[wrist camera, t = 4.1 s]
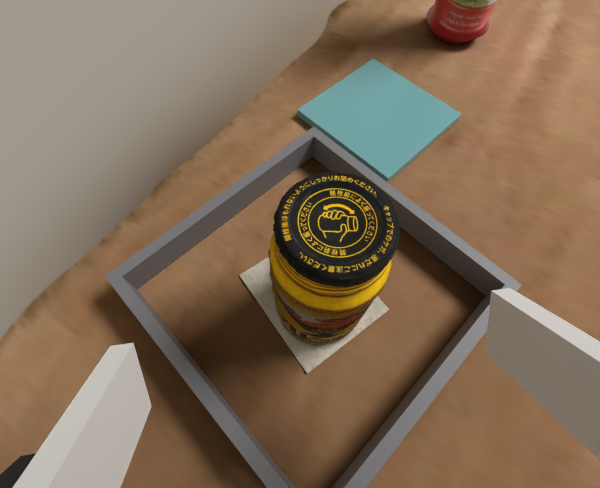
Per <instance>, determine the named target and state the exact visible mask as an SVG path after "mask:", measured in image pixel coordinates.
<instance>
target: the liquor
mask: <svg viewBox="0 0 600 488" xmlns="http://www.w3.org/2000/svg"><path fill="white" fill-rule="evenodd" d="M497 1H498V0H436V1H435V4H434V5H433V6H432V7H431V8H430V9H429V11H428V12H427V21H428V23H429V25H430V27H431V29H432V31H433V33H434V34H435V36H436V37H437V38H439V39H440V40H442V41H444V42H447V43H452V44H461V43H465V42H467V41H470V40H472V39H475V38H477V37H480V36H482V35H483V34H485V33H486V32H487V30H488V27H489V16H490V14H491V13H492V11H493V9H494V7H495V5H496V3H497Z"/></svg>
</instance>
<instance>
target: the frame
mask: <svg viewBox="0 0 600 488" xmlns="http://www.w3.org/2000/svg"><path fill="white" fill-rule="evenodd" d="M311 157H313V158H315V159H316V160H317V161H318V162H320V163H321V164H322V165H323V166H324V167H326V168H327V169H328V170H329V171H331V172H332V173H333V172H338V173H349V174H355V175H358V176H361V177H364V178H366V179H367V180H369V181H371V182H372V183H374V184H375V185H376V186H377V187H379V188H380V190H382V191H383V192H384V193H385V194H386V195H387V196H388V197H389V199H390V200H391V202H392V204H393V207H394V210H395V212H396V214H397V217H398V220H399V224H400V226H399V227H400V228H402V229H403V230H404V231H405V232H407V233H408V234H409V235H410V236H412V237H413V238H414V239H415V240H417V241H418V242H419V243H420V244H422V245H423V246H424V247H425V248H427V249H428V250H429V251H430V252H432V253H433V254H434V255H435V256H437V257H438V258H439V259H440V260H442V261H443V262H444V263H445V264H447V265H448V266H449V267H450V268H451V269H453V270H454V271H455V272H456V273H458V274H459V275H460V276H461V277H463V278H464V279H465V280H466V281H468V282H469V283H470V284H471V285H473V286H474V287H475V288H476V289H478V290H479V291H480V292H481V293H483V294H484V295H485V296H486V297H485V298H484V299H483V300H482V302H481V303H480V304H479V305H478V307H477V308H476V309H475V310H474V312H473V313H472V314H471V315H470V316H469V318H468V319H467V320H466V321H465V323H464V324H463V325H462V326H461V328H460V329H459V330H458V331H457V333H456V334H455V335H454V336H453V338H452V339H451V340H450V341H449V343H448V344H447V345H446V346H445V347H444V349H443V350H442V351H441V352H440V354H439V355H438V356H437V357H436V359H435V360H434V361H433V362H432V364H431V365H430V366H429V367H428V369H427V370H426V371H425V372H424V374H423V375H422V376H421V377H420V378H419V380H418V381H417V382H416V383H415V385H414V386H413V387H412V388H411V390H410V391H409V392H408V393H407V395H406V396H405V397H404V398H403V400H402V401H401V402H400V403H399V404H398V406H397V407H396V408H395V409H394V411H393V412H392V413H391V414H390V416H389V417H388V418H387V419H386V421H385V422H384V423H383V424H382V426H381V427H380V428H379V429H378V431H377V432H376V433H375V434H374V435H373V437H372V438H371V439H370V440H369V442H368V443H367V444H366V445H365V447H364V448H363V449H362V450H361V452H360V453H359V454H358V455H357V457H356V458H355V459H354V460H353V462H352V463H351V464H350V465H349V466H348V468H347V469H346V470H345V471H344V473H343V474H342V475H341V476H340V478H339V479H338V480H337V481H336V483H335V484H334V485H333V486H332V488H366V487H367V486H368V485H369V483H370V482H371V481H372V479H373V478H374V477H375V476H376V474H377V473H378V472H379V470H380V469H381V468H382V466H383V465H384V464H385V463H386V461H387V460H388V459H389V457H390V456H391V455H392V453H393V452H394V451H395V449H396V448H397V447H398V446H399V444H400V443H401V442H402V440H403V439H404V438H405V436H406V435H407V434H408V433H409V431H410V430H411V429H412V427H413V426H414V425H415V423H416V422H417V421H418V420H419V418H420V417H421V416H422V414H423V413H424V412H425V410H426V409H427V408H428V406H429V405H430V404H431V403H432V401H433V400H434V399H435V397H436V396H437V395H438V393H439V392H440V391H441V390H442V388H443V387H444V386H445V384H446V383H447V382H448V380H449V379H450V378H451V377H452V375H453V374H454V373H455V371H456V370H457V369H458V367H459V366H460V365H461V363H462V362H463V361H464V360H465V358H466V357H467V356H468V354H469V353H470V352H471V350H472V349H473V348H474V347H475V345H476V344H477V343H478V341H479V340H480V339H481V337H482V336H483V335H484V334H485V332H486V331H487V328H488V318H489V308H490V297H491V291H492V290H499V289H506V288H511V289H513V290H514V291H516V292H517V291H518V289H519V288H520V287H521V284H520V283H519V282H517V281H516V280H515V279H513V278H512V277H511V276H509V275H508V274H507V273H506V272H504V271H503V270H502V269H500V268H499V267H498V266H496V265H495V264H494V263H492V262H491V261H490V260H489V259H487V258H486V257H485V256H483V255H482V254H481V253H479V252H478V251H477V250H475V249H474V248H473V247H471V246H470V245H469V244H468V243H466V242H465V241H464V240H462V239H461V238H460V237H458V236H457V235H456V234H454V233H453V232H452V231H450V230H449V229H448V228H447V227H445V226H444V225H443V224H441V223H440V222H439V221H437V220H436V219H435V218H433V217H432V216H431V215H430V214H428V213H427V212H426V211H424V210H423V209H422V208H420V207H419V206H418V205H416V204H415V203H414V202H412V201H411V200H410V199H409V198H407V197H406V196H405V195H403V194H402V193H401V192H399V191H398V190H397V189H395V188H394V187H393V186H391V185H390V184H389V183H388V182H386V181H385V180H384V179H382V178H381V177H380V176H378V175H377V174H376V173H374V172H373V171H372V170H371V169H369V168H368V167H367V166H365V165H364V164H363V163H361V162H360V161H359V160H357V159H356V158H355V157H353V156H352V155H351V154H350V153H348V152H347V151H346V150H344V149H343V148H342V147H340V146H339V145H338V144H336V143H335V142H334V141H333V140H331V139H330V138H329V137H327V136H326V135H325V134H323V133H322V132H321V131H319V130H318V129H317V128H315V127H312V128H311V129H309V130H308V131H307V132H305V133H304V134H303V135H301V136H300V137H298V138H297V139H296V140H294V141H293V142H291V143H290V144H289V145H287V146H286V147H284V148H283V149H282V150H280V151H279V152H277V153H276V154H275V155H273V156H272V157H270V158H269V159H268V160H266V161H265V162H263V163H262V164H261V165H259V166H258V167H256V168H255V169H254V170H252V171H251V172H249V173H248V174H247V175H245V176H244V177H242V178H241V179H240V180H238V181H237V182H235V183H234V184H233V185H231V186H230V187H228V188H227V189H226V190H224V191H223V192H221V193H220V194H219V195H217V196H216V197H214V198H213V199H212V200H210V201H209V202H207V203H206V204H205V205H203V206H202V207H200V208H199V209H198V210H196V211H195V212H193V213H192V214H191V215H189V216H188V217H187V218H185V219H184V220H182V221H181V222H180V223H178V224H177V225H175V226H174V227H173V228H171V229H170V230H168V231H167V232H166V233H164V234H163V235H161V236H160V237H159V238H157V239H156V240H154V241H153V242H152V243H150V244H149V245H147V246H146V247H145V248H143V249H142V250H140V251H139V252H138V253H136V254H135V255H133V256H132V257H131V258H129V259H128V260H126V261H125V262H124V263H122V264H121V265H119V266H118V267H117V268H115V269H114V270H112V271H111V272H110V273H108V274H107V275H105V278H106V279H107V280H108V281H109V283H110V284H111V285H112V287H113V288H114V289H115V291H116V292H117V293H118V295H119V296H120V297H121V298H122V300H123V301H124V302H125V304H126V305H127V306H128V308H129V309H130V310H131V311H132V313H133V314H134V315H135V317H136V318H137V319H138V321H139V322H140V323H141V324H142V326H143V327H144V328H145V330H146V331H147V332H148V334H149V335H150V336H151V337H152V339H153V340H154V341H155V343H156V344H157V345H158V347H159V348H160V349H161V350H162V352H163V353H164V354H165V356H166V357H167V358H168V360H169V361H170V362H171V364H172V365H173V366H174V367H175V369H176V370H177V371H178V373H179V374H180V375H181V377H182V378H183V379H184V380H185V382H186V383H187V384H188V386H189V387H190V388H191V390H192V391H193V392H194V393H195V395H196V396H197V397H198V399H199V400H200V401H201V403H202V404H203V405H204V406H205V408H206V409H207V410H208V412H209V413H210V414H211V416H212V417H213V418H214V419H215V421H216V422H217V423H218V425H219V426H220V427H221V429H222V430H223V431H224V432H225V434H226V435H227V436H228V438H229V439H230V440H231V442H232V443H233V444H234V446H235V447H236V448H237V449H238V451H239V452H240V453H241V455H242V456H243V457H244V459H245V460H246V461H247V462H248V464H249V465H250V466H251V468H252V469H253V470H254V472H255V473H256V474H257V475H258V477H259V478H260V479H261V481H262V482H263V483H264V485H265V486H266V487H267V488H296V487H295V486H294V485H293V484H292V482H291V481H290V480H289V479H288V477H287V476H286V475H285V474H284V472H283V471H282V470H281V469H280V467H279V466H278V465H277V464H276V462H275V461H274V460H273V459H272V457H271V456H270V455H269V454H268V452H267V451H266V450H265V449H264V447H263V446H262V445H261V444H260V442H259V441H258V440H257V439H256V437H255V436H254V435H253V434H252V432H251V431H250V430H249V428H248V427H247V426H246V425H245V423H244V422H243V421H242V420H241V418H240V417H239V416H238V415H237V413H236V412H235V411H234V410H233V408H232V407H231V406H230V405H229V403H228V402H227V401H226V400H225V398H224V397H223V396H222V395H221V393H220V392H219V391H218V390H217V388H216V387H215V386H214V385H213V383H212V382H211V381H210V380H209V378H208V377H207V376H206V375H205V373H204V372H203V371H202V370H201V368H200V367H199V366H198V365H197V363H196V362H195V361H194V360H193V358H192V357H191V356H190V355H189V353H188V352H187V351H186V350H185V348H184V347H183V346H182V345H181V343H180V342H179V341H178V340H177V338H176V337H175V336H174V335H173V333H172V332H171V331H170V330H169V328H168V327H167V326H166V325H165V323H164V322H163V321H162V320H161V318H160V317H159V316H158V314H157V313H156V312H155V311H154V309H153V308H152V307H151V306H150V304H149V303H148V302H147V301H146V299H145V298H144V297H143V296H142V294H141V293H140V292H139V291H138V288H139V287H141V286H142V285H143V284H145V283H146V282H147V281H149V280H150V279H151V278H153V277H154V276H155V275H156V274H158V273H159V272H160V271H162V270H163V269H164V268H166V267H167V266H168V265H170V264H171V263H172V262H174V261H175V260H176V259H178V258H179V257H180V256H182V255H183V254H184V253H186V252H187V251H188V250H190V249H191V248H192V247H194V246H195V245H196V244H198V243H199V242H200V241H201V240H203V239H204V238H205V237H207V236H208V235H209V234H211V233H212V232H213V231H215V230H216V229H217V228H219V227H220V226H221V225H223V224H224V223H225V222H227V221H228V220H229V219H231V218H232V217H233V216H235V215H236V214H237V213H239V212H240V211H241V210H243V209H244V208H245V207H246V206H248V205H249V204H250V203H252V202H253V201H254V200H256V199H257V198H258V197H260V196H261V195H262V194H264V193H265V192H266V191H268V190H269V189H270V188H272V187H273V186H274V185H276V184H277V183H278V182H280V181H281V180H282V179H284V178H285V177H286V176H288V175H289V174H290V173H291V172H293V171H294V170H295V169H297V168H298V167H299V166H301V165H302V164H303V163H305V162H306V161H307V160H309V159H310V158H311Z"/></svg>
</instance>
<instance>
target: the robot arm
mask: <svg viewBox="0 0 600 488" xmlns="http://www.w3.org/2000/svg"><path fill="white" fill-rule="evenodd" d="M485 352H486V353H487V354H488V355H489V356H490V357H491V358H492V359H493V360H494V361H495V362H496V363H497V364H498V365H499V366H500V367H501V368H503V369H504V370H505V371H506V372H507V373H508V374H509V375H510V376H511V377H512V378H513V379H514V380H515V381H516V382H517V383H518V384H520V385H521V386H522V387H523V388H524V389H525V390H526V391H527V392H528V393H529V394H530V395H531V396H532V397H533V398H534V399H535V400H537V401H538V402H539V403H540V404H541V405H542V406H543V407H544V408H545V409H546V410H547V411H548V412H549V413H550V414H551V415H552V416H554V417H555V418H556V419H557V420H558V421H559V422H560V423H561V424H562V425H563V426H564V427H565V428H566V429H567V430H568V431H569V432H571V433H572V434H573V435H574V436H575V437H576V438H577V439H578V440H579V441H580V442H581V443H582V444H583V445H584V446H585V447H586V448H587V449H589V450H590V451H591V452H592V453H593V454H594V455H595V456H596V457H597V458H598V459H599V460H600V341H598V340H596V339H595V338H593V337H591V336H590V335H588V334H586V333H585V332H583V331H581V330H580V329H578V328H576V327H575V326H573V325H571V324H569V323H568V322H566V321H564V320H563V319H561V318H559V317H558V316H556V315H554V314H553V313H551V312H549V311H548V310H546V309H544V308H543V307H541V306H539V305H538V304H536V303H534V302H533V301H531V300H529V299H528V298H526V297H524V296H523V295H521V294H519V293H518V292H516V291H514V290H513V289H511V288H506V289H499V290H492V291H491V297H490V308H489V318H488V328H487V339H486V349H485ZM151 407H152V406H151V403H150V399H149V396H148V392H147V389H146V385H145V381H144V378H143V374H142V371H141V367H140V364H139V360H138V357H137V353H136V350H135V346H134V343H127V344H121V345H114V346H110V347H109V349H108V350H107V351H106V353H105V354H104V356H103V357H102V359H101V360H100V362H99V363H98V365H97V366H96V367H95V369H94V370H93V372H92V373H91V375H90V376H89V378H88V379H87V380H86V382H85V383H84V385H83V386H82V388H81V389H80V391H79V392H78V394H77V395H76V396H75V398H74V399H73V401H72V402H71V404H70V405H69V407H68V408H67V409H66V411H65V412H64V414H63V415H62V417H61V418H60V420H59V421H58V423H57V424H56V425H55V427H54V428H53V430H52V431H51V433H50V434H49V436H48V437H47V439H46V440H45V441H44V443H43V444H42V446H41V447H40V449H39V450H38V452H37V453H36V454H31V455H25V456H21V457H20V458H18V459H17V460H16V461H15V462H14V463H13V464H12V465H11V466H10V467H8V468H7V469H6V470H5V471H4V472H3V473H2V474H1V475H0V488H121V485H122V482H123V480H124V477H125V475H126V472H127V469H128V467H129V464H130V461H131V459H132V456H133V454H134V451H135V448H136V446H137V443H138V441H139V438H140V435H141V433H142V430H143V428H144V425H145V422H146V420H147V417H148V414H149V412H150V409H151Z"/></svg>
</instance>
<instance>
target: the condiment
mask: <svg viewBox="0 0 600 488" xmlns="http://www.w3.org/2000/svg"><path fill="white" fill-rule="evenodd" d="M274 221H275V223H274V225H273V226H274V228H273V230H274V234H273V236H272V239H271V244H270V250H269V253H268V254H269V257H267V258H266V259H264V260H263V261H261V262H260V263H258V264H257V265H255V266H254V267H252V268H250V269H248V270H247V271H245V272H244V273H242V274H240V275H239V276H240V277H241V278H242V280H243V281H244V283H245V284H246V286H247V287H248V289H249V290H250V292H251V293H252V294H253V296H254V297H255V299H256V300H257V301H258V303H259V305H260V306H261V307H262V309H263V310H264V312H265V313H266V315H267V316H268V318H269V319H270V321H271V322H272V323H273V325H274V326H275V328H276V329H277V331H278V332H279V334H280V335H281V337H282V338H283V339H284V341H285V342H286V344H287V345H288V347H289V348H290V350H291V351H292V352H293V354H294V355H295V357H296V358H297V360H298V361H299V363H300V364H301V365H302V367H303V368H304V370H305V371H306V372H307V373H309V372H310V371H311V370H313V369H314V368H315V367H316V366H318V365H319V364H320V363H322V362H323V361H324V360H325V359H327V358H328V357H329V356H331V355H332V354H333V353H335V352H336V351H337V350H338V349H340V348H341V347H342V346H344V345H345V344H346V343H347V342H349V341H350V340H351V339H352V338H354V337H355V336H356V335H358V334H359V333H360V332H361V331H363V330H364V329H365V328H367V327H368V326H369V325H371V324H372V323H373V322H374V321H375V320H377V319H378V318H379V317H381V316H382V315H383V314H384V313H386V312H387V311H388V310H389V309H388V307H387V306H386V305H385V304H384V303H383V302H382V301H381V299H380V298H379V297H378V295H379V293H380V292H381V290H382V289H383V287H384V286H385V284H386V282H387V279H388V277H389V273H390V270H391V263H392V257H393V255H394V253H395V251H396V249H397V244H398V242H399V235H400V233H399V226H400V224H399V220H398V217H397V214H396V212H395V210H394V207H393V204H392V202H391V200H390V199H389V197H388V196H387V195H386V194H385V193H384V192H383V191H382V190H380V188H379V187H377V186H376V185H375V184H374V183H372V182H371V181H369V180H367V179H366V178H364V177H361V176H358V175H355V174H349V173H338V172H333V173H319V174H315V175H312V176H310V177H307V178H305V179H304V180H302V181H300V182H298V183H296V184H295V185H294V186H293V187H291V188H290V189H289V190H288V191H287V192H286V193H285V195H284V196H283V197H282V199H281V201H280V204H279V206H278V209H277V210H276V212H275V215H274Z"/></svg>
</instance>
